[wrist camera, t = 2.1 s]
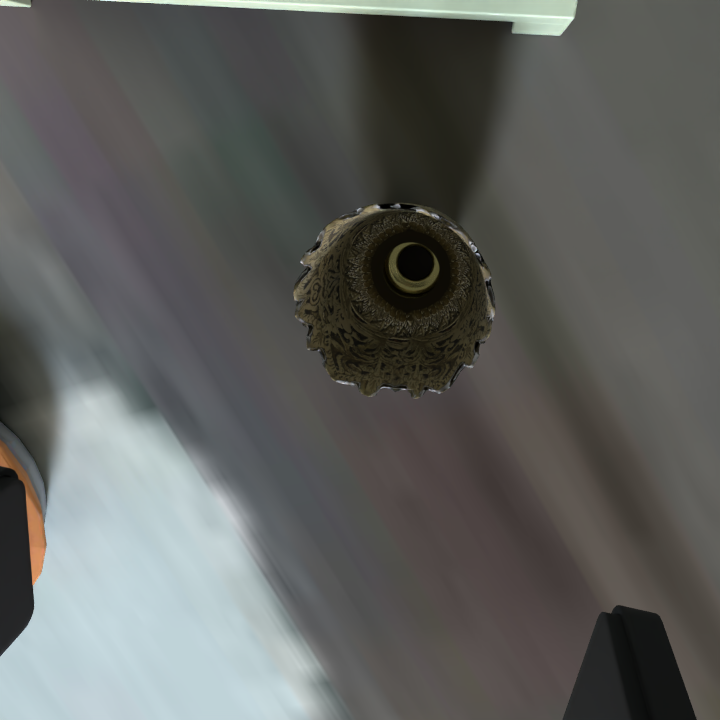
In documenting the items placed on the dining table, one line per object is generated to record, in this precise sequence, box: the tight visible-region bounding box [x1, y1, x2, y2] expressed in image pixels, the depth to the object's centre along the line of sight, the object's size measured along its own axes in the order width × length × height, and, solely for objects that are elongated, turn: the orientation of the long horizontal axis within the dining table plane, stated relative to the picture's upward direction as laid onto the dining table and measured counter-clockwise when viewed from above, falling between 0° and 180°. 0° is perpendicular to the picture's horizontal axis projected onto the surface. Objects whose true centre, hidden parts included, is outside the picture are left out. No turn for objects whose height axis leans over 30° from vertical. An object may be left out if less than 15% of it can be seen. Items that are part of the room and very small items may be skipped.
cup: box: [293, 203, 495, 398], centre depth 27 cm, size 8×7×8 cm
